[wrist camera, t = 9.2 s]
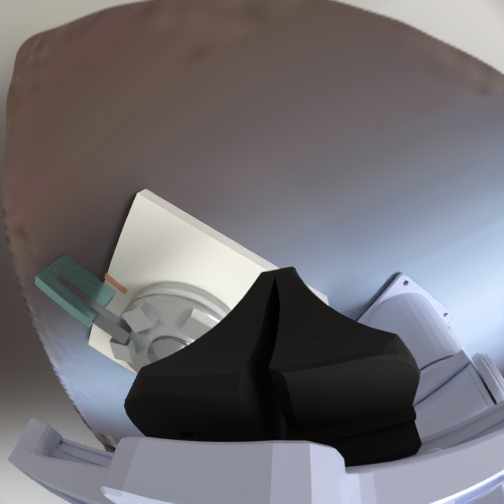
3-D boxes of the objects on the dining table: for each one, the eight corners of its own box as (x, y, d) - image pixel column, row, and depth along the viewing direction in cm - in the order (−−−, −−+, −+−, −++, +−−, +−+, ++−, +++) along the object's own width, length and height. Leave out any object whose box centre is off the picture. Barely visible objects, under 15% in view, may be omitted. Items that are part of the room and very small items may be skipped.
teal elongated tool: (271, 329, 23) (269, 371, 18) (207, 390, 27) (198, 426, 22) (81, 205, 19) (45, 224, 15) (57, 294, 24) (31, 320, 19)
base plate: (326, 296, 23) (329, 306, 22) (221, 404, 30) (219, 414, 29) (144, 187, 20) (135, 192, 19) (93, 335, 28) (86, 343, 26)
